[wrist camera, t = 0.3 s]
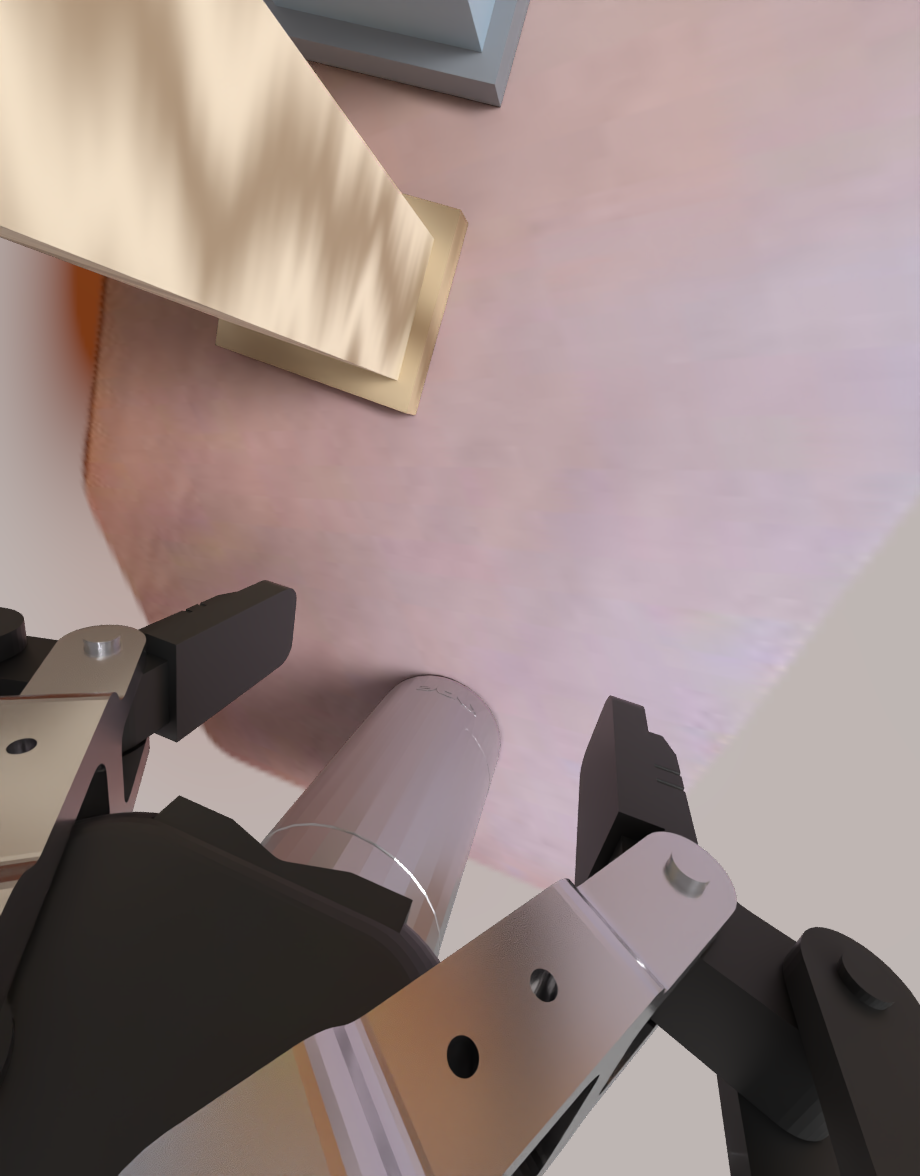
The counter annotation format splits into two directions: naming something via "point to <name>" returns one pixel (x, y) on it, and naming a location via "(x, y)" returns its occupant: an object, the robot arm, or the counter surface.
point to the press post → (412, 40)
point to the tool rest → (220, 186)
